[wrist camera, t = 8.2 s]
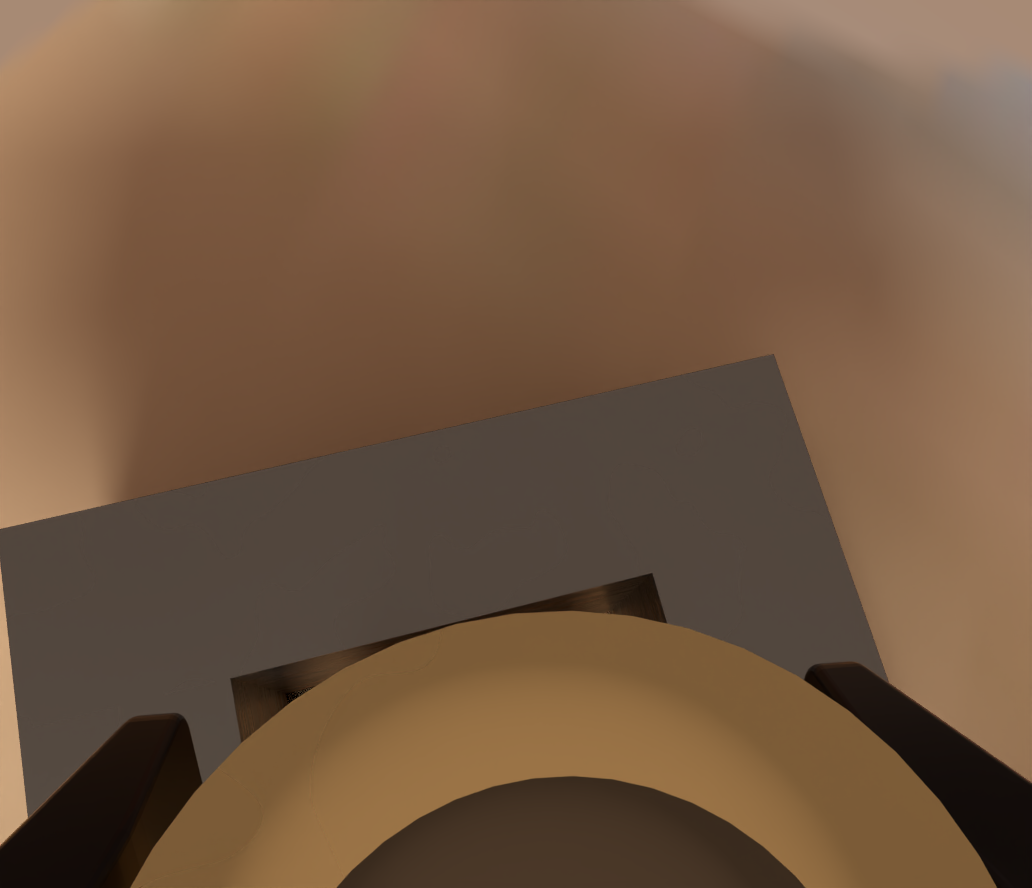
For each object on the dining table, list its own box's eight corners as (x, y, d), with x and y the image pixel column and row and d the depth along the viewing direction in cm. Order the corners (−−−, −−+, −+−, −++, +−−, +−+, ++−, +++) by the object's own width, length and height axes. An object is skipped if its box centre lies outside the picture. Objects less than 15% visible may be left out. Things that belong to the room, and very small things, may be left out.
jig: (920, 1096, 15) (1076, 1217, 11) (208, 1328, 14) (107, 1556, 10) (707, 437, 18) (773, 353, 14) (104, 578, 17) (-3, 529, 13)
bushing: (645, 925, 16) (1263, 1592, 3) (397, 997, 15) (122, 2059, 3) (579, 672, 17) (878, 517, 5) (344, 734, 16) (-15, 740, 4)
